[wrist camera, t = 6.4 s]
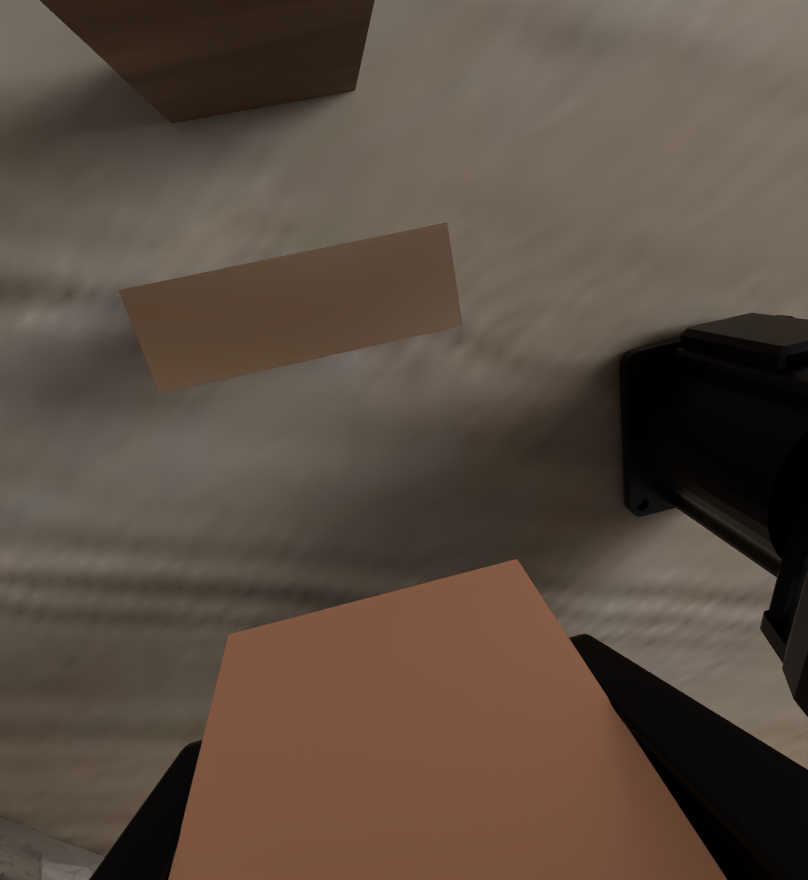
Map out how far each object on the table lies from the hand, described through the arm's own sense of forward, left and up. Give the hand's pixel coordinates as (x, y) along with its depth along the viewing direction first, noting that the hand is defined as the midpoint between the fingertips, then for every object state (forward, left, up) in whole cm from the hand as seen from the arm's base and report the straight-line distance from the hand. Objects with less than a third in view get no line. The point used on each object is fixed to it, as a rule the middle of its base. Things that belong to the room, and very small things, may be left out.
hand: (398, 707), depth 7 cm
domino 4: (+6, 0, -11) cm, 12 cm away
